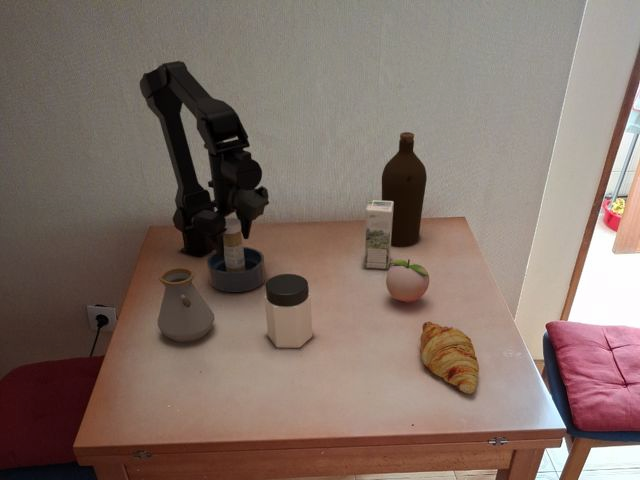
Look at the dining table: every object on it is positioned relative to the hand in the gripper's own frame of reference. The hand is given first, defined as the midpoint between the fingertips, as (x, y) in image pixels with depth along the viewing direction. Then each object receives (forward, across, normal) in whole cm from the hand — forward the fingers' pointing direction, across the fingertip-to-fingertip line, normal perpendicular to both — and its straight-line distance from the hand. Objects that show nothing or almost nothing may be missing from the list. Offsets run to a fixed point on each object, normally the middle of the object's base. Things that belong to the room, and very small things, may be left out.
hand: (234, 246), depth 135 cm
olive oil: (+8, +37, -24) cm, 45 cm away
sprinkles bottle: (+8, 0, 0) cm, 8 cm away
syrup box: (+8, +22, -25) cm, 34 cm away
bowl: (+8, 0, 0) cm, 8 cm away
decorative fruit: (+8, +9, -38) cm, 40 cm away
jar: (+8, -14, -23) cm, 28 cm away
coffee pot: (+8, -26, -7) cm, 28 cm away
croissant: (+9, -8, -54) cm, 55 cm away
